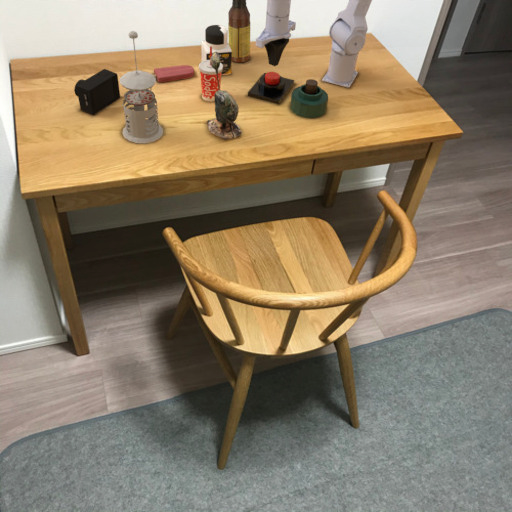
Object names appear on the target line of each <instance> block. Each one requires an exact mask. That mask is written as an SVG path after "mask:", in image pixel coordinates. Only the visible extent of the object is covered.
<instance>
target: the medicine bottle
mask: <svg viewBox="0 0 512 512" xmlns="http://www.w3.org/2000/svg"><path fill="white" fill-rule="evenodd" d="M204 34H205V37H204V39H205V40H201V42H200V43H201V44H200V45H201V46H200V47H201V49H200V51H201V58H200V59H201V62H202V61H205V60H210V46H211V47H212V54H213V53H214V52H218V54H219V58H220V63H221V64H222V65H223V70H222V73H221V76H226V75H227V76H228V75H231V74H232V62H233V61H232V50H231V48H230V46H229V34H228V28H227V27H225V26H223V25H220V24H211V25H209V26H207V27H206V28H205V33H204Z"/></svg>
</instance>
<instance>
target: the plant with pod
mask: <svg viewBox="0 0 512 512" xmlns="http://www.w3.org/2000/svg"><path fill="white" fill-rule="evenodd" d="M210 59H211V60H210V64H211V66H212V67H213V68H214V69H215V70H216V76H217V81H218V89H219V80H218V68H219V67H220V58H219V54H218V52H214V53H213V54H212V56H211V57H210ZM214 96H215V98H214V99H215V101H214V113H215V118H212V119H208V120H206V125H207V127H208V132H209V133H210V134H213V135H214V136H216V137H218V138H220V139H222V140H231V139H236V138H238V137H239V136H241V135H242V133H243V132H242V130H241V126H239V124H236V121H237V119H238V116H239V109H240V108H239V105H238V103H237V100H235V98H234V96H233V95H231V93H230V92H228V91H227V90H221V88H220V89H219V90H218V91H217V92H216V93H215V95H214Z"/></svg>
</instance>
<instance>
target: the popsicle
mask: <svg viewBox="0 0 512 512" xmlns="http://www.w3.org/2000/svg"><path fill="white" fill-rule="evenodd" d="M153 75H154V77H155V78H156V81H157V82H158V83H166V82H172V81H178V80H185V79H190V78H192V77H194V76H195V68H194V67H193V66H191V65H189V64H181V65H171V66H164V67H156V68H153Z"/></svg>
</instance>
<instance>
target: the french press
mask: <svg viewBox="0 0 512 512" xmlns="http://www.w3.org/2000/svg"><path fill="white" fill-rule="evenodd" d="M138 37H139V36H138V33H137V31H135V30H131V31H129V33H128V38H129V39H131V40H132V44H133V51H134V53H133V54H134V61H135V70H132V71H128V72H126V73H124V74H123V75H122V76H120V78H119V80H118V83H120V85H121V86H122V87H123V88H124V89H126V90H127V91H126V92H125V93H124V94H123V100H122V107H123V113H124V121H125V122H124V123H125V126H124V127H123V129H122V135H123V137H124V139H126V140H127V141H129V142H130V143H131V142H132V143H135V144H149V143H153V142H155V141H158V140H159V139H160V138H161V137H162V136H163V135H164V128H163V126H162V125H160V123H159V112H158V109H159V108H158V101H157V99H156V94H155V93H154V91H153V90H152V89H153V87H155V85H156V82H157V78H156V77H154V74H152V73H150V72H148V71H144V70H139V69H138V65H137V55H136V44H135V39H138ZM128 106H130V107H128ZM131 106H132V107H131ZM145 106H146V107H147V108H146V109H145Z"/></svg>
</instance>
